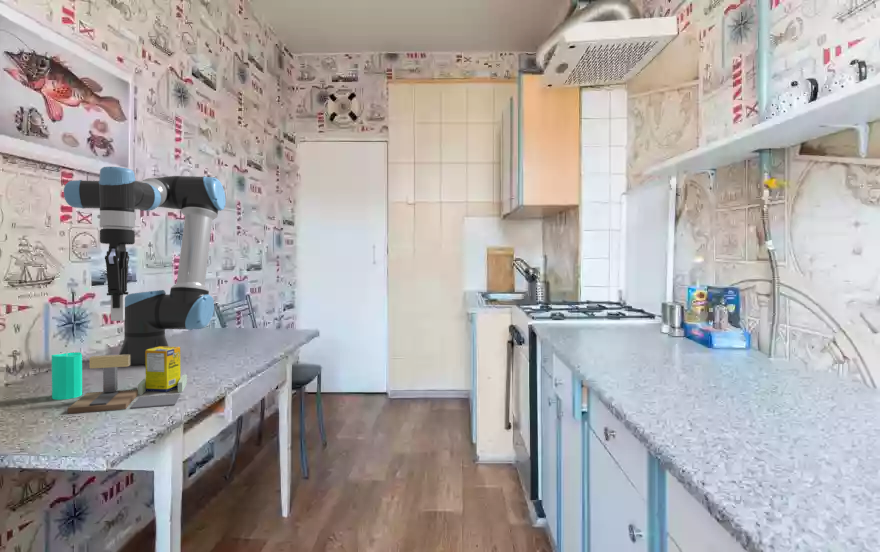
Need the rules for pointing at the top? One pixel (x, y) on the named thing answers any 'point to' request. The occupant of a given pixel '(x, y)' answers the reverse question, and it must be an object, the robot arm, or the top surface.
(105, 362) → the t key
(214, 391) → the top surface
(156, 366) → the supplement box
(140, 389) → the clip holder
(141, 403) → the mat
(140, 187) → the robot arm
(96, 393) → the board
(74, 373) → the candle
